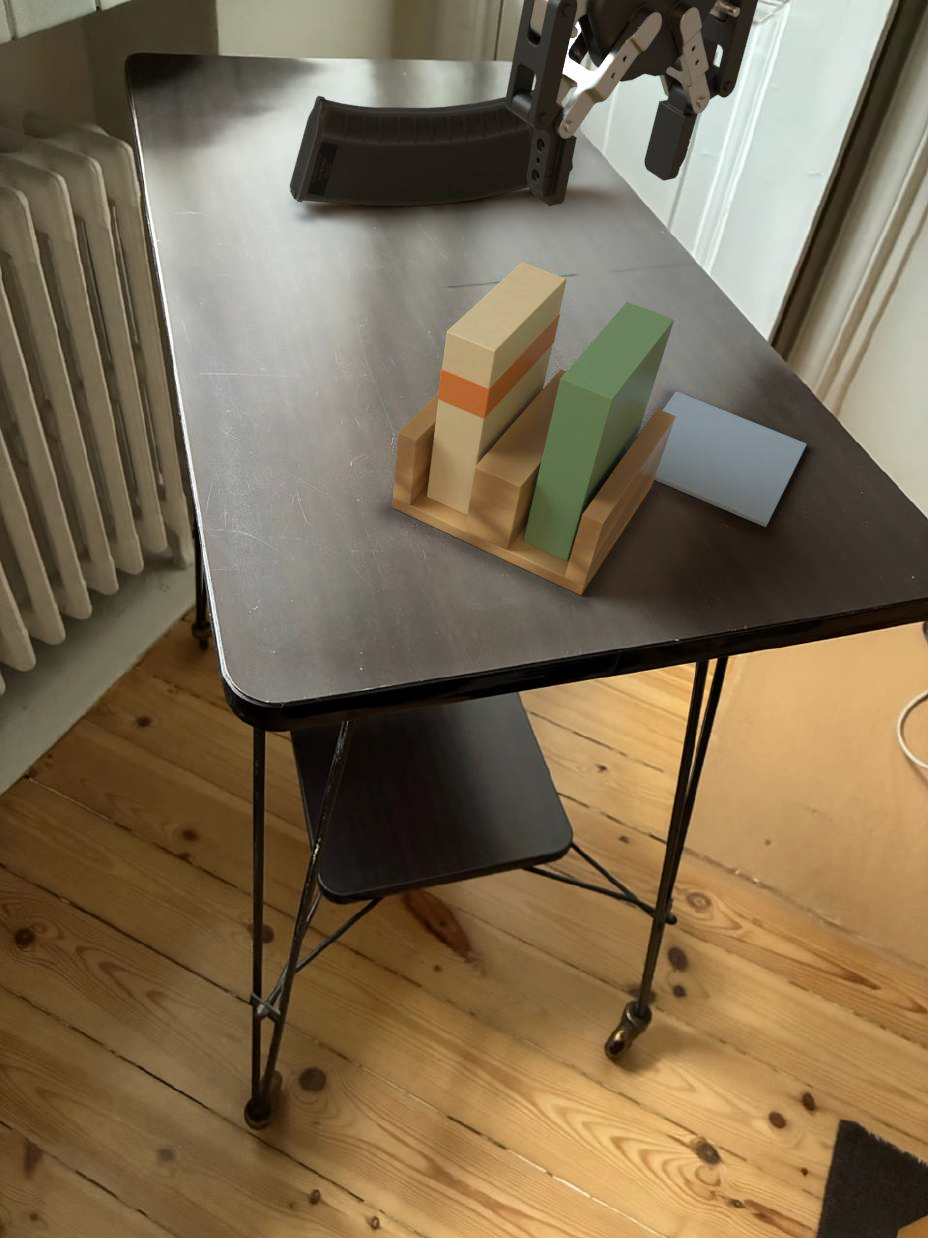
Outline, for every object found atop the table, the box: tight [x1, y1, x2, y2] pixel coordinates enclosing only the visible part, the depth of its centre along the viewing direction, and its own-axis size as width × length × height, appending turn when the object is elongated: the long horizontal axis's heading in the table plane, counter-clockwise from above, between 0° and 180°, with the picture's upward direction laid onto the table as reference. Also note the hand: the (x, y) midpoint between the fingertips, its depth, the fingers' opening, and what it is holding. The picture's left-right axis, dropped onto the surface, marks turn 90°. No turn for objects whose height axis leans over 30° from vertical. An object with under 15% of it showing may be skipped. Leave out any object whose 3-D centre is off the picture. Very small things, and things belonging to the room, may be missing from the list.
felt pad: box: [654, 391, 808, 528], centre depth 81 cm, size 12×12×1 cm
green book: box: [523, 301, 675, 561], centre depth 68 cm, size 4×11×14 cm, turn 152°
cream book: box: [427, 261, 568, 515], centre depth 70 cm, size 4×11×14 cm, turn 152°
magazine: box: [289, 89, 574, 207], centre depth 101 cm, size 17×3×30 cm
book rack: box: [391, 368, 676, 596], centre depth 73 cm, size 16×14×7 cm
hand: (604, 185), depth 56 cm, fingers open, 8 cm apart
